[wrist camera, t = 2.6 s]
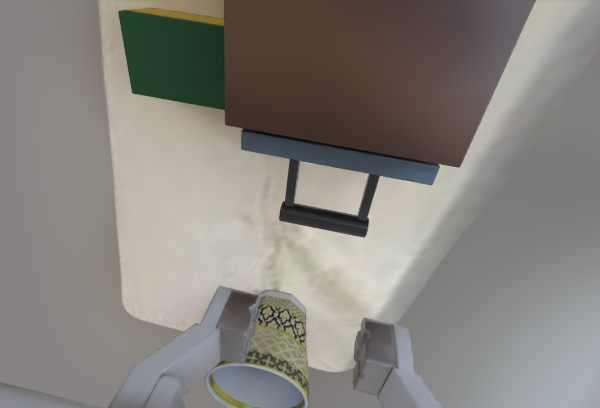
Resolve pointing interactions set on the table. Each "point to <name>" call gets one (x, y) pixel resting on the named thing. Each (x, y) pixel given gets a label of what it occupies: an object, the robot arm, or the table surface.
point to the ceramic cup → (268, 360)
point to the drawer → (340, 159)
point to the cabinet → (369, 70)
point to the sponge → (175, 55)
